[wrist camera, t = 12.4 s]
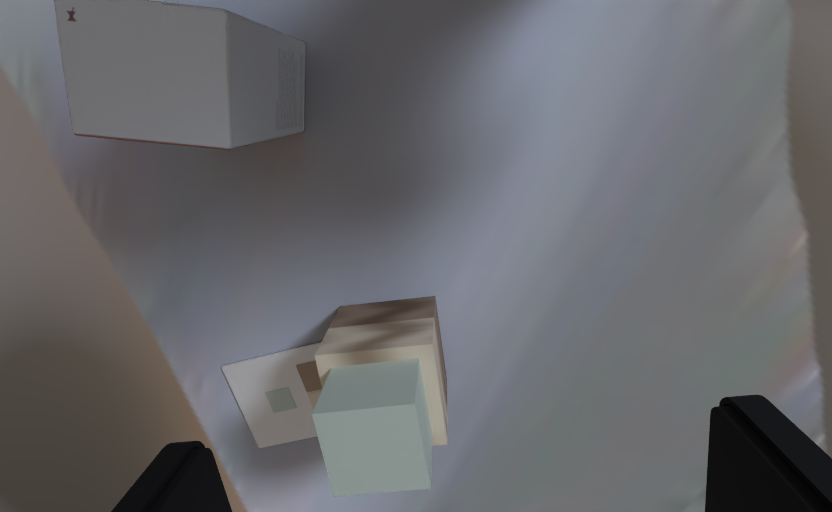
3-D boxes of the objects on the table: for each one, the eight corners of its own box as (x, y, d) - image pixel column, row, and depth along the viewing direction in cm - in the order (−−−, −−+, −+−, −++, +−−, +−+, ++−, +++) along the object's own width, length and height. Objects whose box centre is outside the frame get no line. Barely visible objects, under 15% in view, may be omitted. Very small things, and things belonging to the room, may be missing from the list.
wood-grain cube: (434, 296, 38) (432, 344, 31) (446, 380, 41) (447, 444, 33) (339, 306, 39) (314, 355, 31) (356, 388, 41) (337, 453, 34)
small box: (200, 124, 35) (67, 135, 23) (195, 31, 33) (46, -12, 21) (307, 134, 35) (231, 151, 23) (308, 41, 33) (226, 4, 21)
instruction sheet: (349, 335, 40) (348, 336, 40) (380, 421, 42) (380, 423, 42) (222, 365, 42) (220, 367, 41) (259, 447, 44) (258, 449, 44)
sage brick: (419, 357, 31) (414, 403, 26) (432, 432, 33) (430, 488, 28) (331, 367, 32) (311, 414, 27) (349, 440, 33) (333, 496, 29)
